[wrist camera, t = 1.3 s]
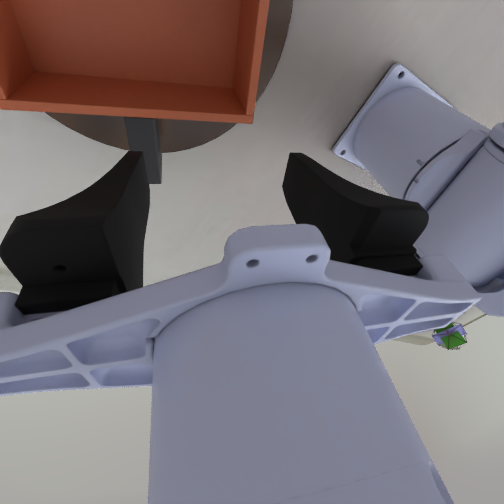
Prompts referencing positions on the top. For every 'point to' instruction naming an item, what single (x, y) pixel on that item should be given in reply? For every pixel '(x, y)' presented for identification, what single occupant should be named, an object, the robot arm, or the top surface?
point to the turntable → (188, 131)
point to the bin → (134, 62)
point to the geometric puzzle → (450, 336)
